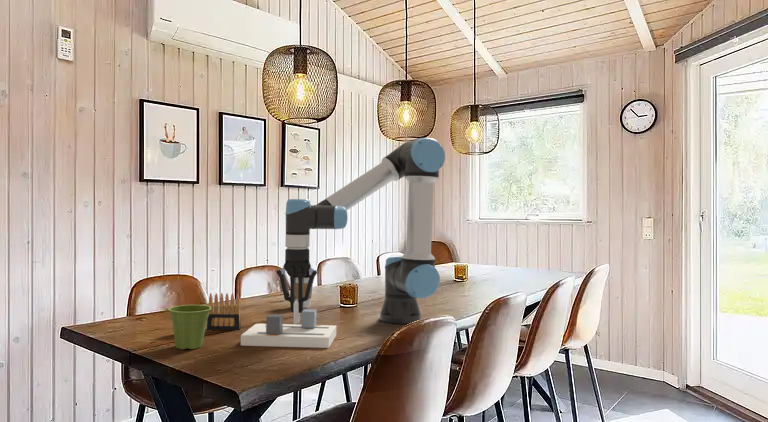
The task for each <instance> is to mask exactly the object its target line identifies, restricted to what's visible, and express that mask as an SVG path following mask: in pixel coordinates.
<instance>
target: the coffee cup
mask: <svg viewBox="0 0 768 422" xmlns="http://www.w3.org/2000/svg"><path fill="white" fill-rule="evenodd" d="M309 272H310V271H308V272H307V274H306V275H305V276H304V297H305V293H306V289H307V285H308V281H309V277H310V275H309ZM312 287H314V286H313V285H312ZM312 292H313V288H312V289H311V293H310V297H309V299H308V300H307V301H304V302H303V309H310V308H311V303H312V302H311V301H312V295H313V293H312ZM295 302H298V278H297V277H296V300H295Z"/></svg>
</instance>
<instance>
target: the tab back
mask: <svg viewBox="0 0 768 422" xmlns="http://www.w3.org/2000/svg"><path fill="white" fill-rule="evenodd" d="M317 311H318V310H317V309H316V308H315V309H314V308H313V309H312V308H303V311H302V313H301V325H302V328H315V326H316V325H318V323H317V318H318V317H317V315H318V312H317Z"/></svg>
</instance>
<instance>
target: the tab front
mask: <svg viewBox="0 0 768 422" xmlns="http://www.w3.org/2000/svg"><path fill="white" fill-rule="evenodd" d="M265 321H266V322H265V324H266V334H280V333H281V332H282V331H283V324H284V314H283V313H282V314H280V313H279V314H276V313H270V314H268V315H267V316H266V319H265Z"/></svg>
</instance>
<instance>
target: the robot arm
mask: <svg viewBox="0 0 768 422" xmlns="http://www.w3.org/2000/svg"><path fill="white" fill-rule="evenodd" d="M443 147H444V146H442V144H441V143H440V142H439V141H438V140H437V139H434V138H432V137H431V138H430V137H420V138H417V139H415V140H410V141H409V140H408V141H407V142H404V143H403V144H401V145H399V146H398V147H396V148H395V149H394V150H392V151H391V152H390V153H388V154H387V155H386V156H384V157H383V158H381V161H380V163H378V164H377V165H375V166H374V167H373V168H371V169H369V170H368V171H366V172H365V173H363V174H362V175H360V176H359V177H357V178H356V179H354V180H352V181H350V182H349V183H347V184H346V185H345V186H343V187H341V188H339V189H338V190H337V191H335V192H334V193H332V194H330V195H329V196H327V197H326V198H325V199H323V200H322V201H320V202H318V203H316V204H314V205H312V204H311V201H310V199H307V198H291V199H288V200H287V201H286V204H285V206H286V207H285V214H284V215H285V241H284V242H285V245H284V247H286V249H284V250H285V251H284V252H285V254H284V259H285V260H284V264H283V267H281V268H279V269H277V270H276V275H277V276H278V277H279V281H280V285H281V290H282V295H283V298H284V300H285V301H287V302H289V303H290V304H289V305H290V306H289V308H290V309H289V311H290V313H293V324H294V325H299V324H300V323H301V322H300V321H301V314H302V311H303V310H304V308H303V302H304V301H307V300H308V299H309V297H310V293H311V289H312V290H313V286H312V285H313V284H314V281H315V277H316V276H317V274H318V273H319V271H318V269H314V268H313V267H312V265H311V262H310V249H309V247H310V241H311V239H310V236H311V235H310V232H311V230H341V229H342V230H343V229H345V228H346V227H347V224H348V210H350V209H351V208H352V207H354V206H356V205H358V204H359V203H360V202H362V201H363V200H364V199H367V198H368V197H370V196H371V195H372V194H374V193H375V192H377V191H379V190H380V189H382V188H384V187H385V186H386V185H387V184H389V183H390V182H392V181H394V182H397V181H399V180H400V179H402V178H405V180H406V181H407V182H408V191H407V192H408V193H407V194H408V196H407V219H406V221H407V222H406V241H405V244H406V245H405V253H404V254H402V256H391V257H389V256H388V257H387V258H386V259H385V264H384V269H385V270H384V271H385V273H384V299H383V303H382V307H381V309H380V312H379V320H380V321H381V322H384V323H390V324H400V325H401V324H411V323H410V322H414V321H417V320H420V319H421V320H422V312H421V309H420V305H419V302H418V299H426V298H429V297H431V296H432V295H434V294H435V293H436V292H437V290H438V288H439V287H440V281H441V277H440V276H441V275H440V273H439V271H438V270H437V268H436V267H435V266H436V258H435V256H434V255H433V254H432V237H433V235H432V234H433V214H434V211H433V209H434V193H435V192H434V190H435V189H434V188H435V185H434V184H435V183H436V182H437V181H439V177H440V176H439V175H440V169H441V168H442V167H443V166H444V164H445V160H446V152H445V149H444V148H443ZM308 271H310V272H309V275H310V277H309V281H308V285H307V289H306V293H305V297H304V276H305V275H306V274H307V272H308ZM286 273H287V275H288V276H289V283H290V284H289V286H288V282H287V278H286ZM296 277H297V278H298V302H295V300H296ZM289 287H290V288H289Z"/></svg>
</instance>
